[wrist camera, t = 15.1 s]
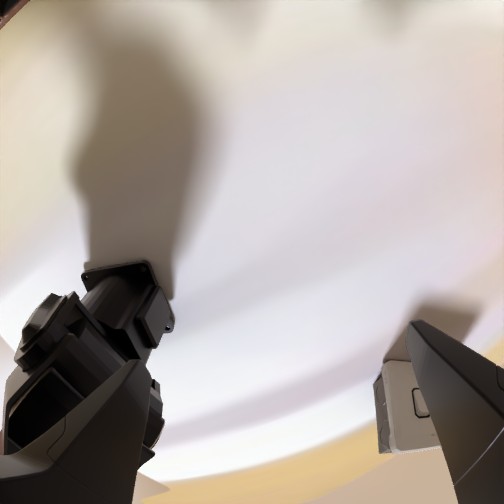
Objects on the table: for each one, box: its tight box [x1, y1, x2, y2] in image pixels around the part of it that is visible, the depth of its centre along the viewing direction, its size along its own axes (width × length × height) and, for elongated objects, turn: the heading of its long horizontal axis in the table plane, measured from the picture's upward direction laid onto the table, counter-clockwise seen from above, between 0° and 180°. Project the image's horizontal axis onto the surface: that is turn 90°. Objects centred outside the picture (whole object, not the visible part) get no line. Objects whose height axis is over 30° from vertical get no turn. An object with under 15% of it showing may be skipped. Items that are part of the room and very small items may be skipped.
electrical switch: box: [373, 360, 442, 454], centre depth 23 cm, size 9×5×9 cm, turn 76°
